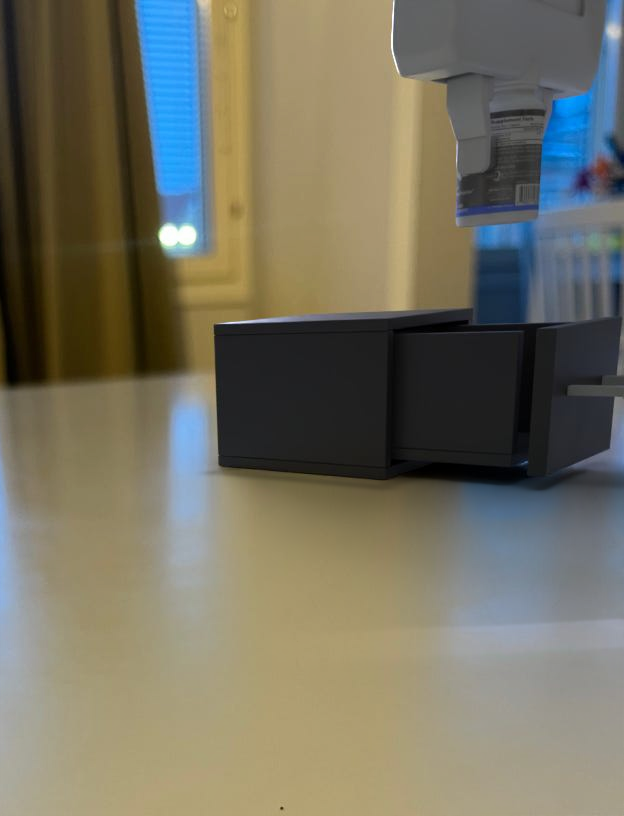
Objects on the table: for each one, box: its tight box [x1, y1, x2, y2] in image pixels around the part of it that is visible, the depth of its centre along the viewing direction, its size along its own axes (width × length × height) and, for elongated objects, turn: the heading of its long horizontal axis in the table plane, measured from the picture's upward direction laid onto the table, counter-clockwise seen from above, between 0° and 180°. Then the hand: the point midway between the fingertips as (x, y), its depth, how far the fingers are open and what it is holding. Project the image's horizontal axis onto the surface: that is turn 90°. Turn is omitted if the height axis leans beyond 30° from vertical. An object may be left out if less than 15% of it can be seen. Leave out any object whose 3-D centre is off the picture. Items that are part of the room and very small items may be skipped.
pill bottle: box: [455, 60, 545, 228], centre depth 58 cm, size 5×5×8 cm
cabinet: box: [213, 307, 474, 481], centre depth 75 cm, size 15×13×11 cm
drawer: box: [391, 316, 624, 478], centre depth 66 cm, size 18×11×9 cm, turn 48°
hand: (499, 175), depth 59 cm, fingers closed on pill bottle, 5 cm apart
